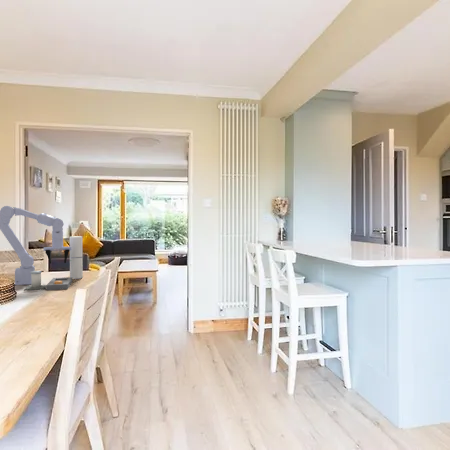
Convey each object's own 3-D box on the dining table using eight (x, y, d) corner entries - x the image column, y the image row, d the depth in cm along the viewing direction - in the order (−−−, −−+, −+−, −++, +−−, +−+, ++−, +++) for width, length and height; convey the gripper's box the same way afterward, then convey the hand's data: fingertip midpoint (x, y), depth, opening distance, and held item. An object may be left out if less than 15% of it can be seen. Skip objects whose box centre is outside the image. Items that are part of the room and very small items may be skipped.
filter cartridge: (30, 288, 185) (30, 272, 185) (32, 286, 189) (32, 271, 189) (40, 287, 186) (40, 272, 186) (42, 285, 191) (42, 270, 191)
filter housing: (46, 290, 183) (46, 285, 183) (53, 282, 204) (53, 277, 204) (67, 289, 186) (67, 284, 186) (72, 281, 207) (72, 277, 207)
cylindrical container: (78, 279, 214) (77, 237, 214) (67, 278, 216) (67, 236, 215) (85, 277, 221) (84, 236, 221) (74, 276, 223) (74, 236, 222)
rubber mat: (24, 290, 182) (24, 289, 182) (28, 286, 191) (28, 285, 191) (44, 289, 185) (44, 288, 185) (47, 286, 193) (47, 284, 193)
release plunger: (54, 287, 186) (53, 282, 186) (55, 286, 189) (55, 280, 189) (61, 287, 187) (61, 281, 187) (62, 286, 190) (62, 280, 190)
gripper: (42, 240, 201) (42, 264, 201) (70, 239, 205) (70, 263, 205) (44, 239, 207) (44, 262, 208) (71, 238, 212) (72, 261, 212)
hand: (57, 263), depth 207 cm, fingers open, 7 cm apart
